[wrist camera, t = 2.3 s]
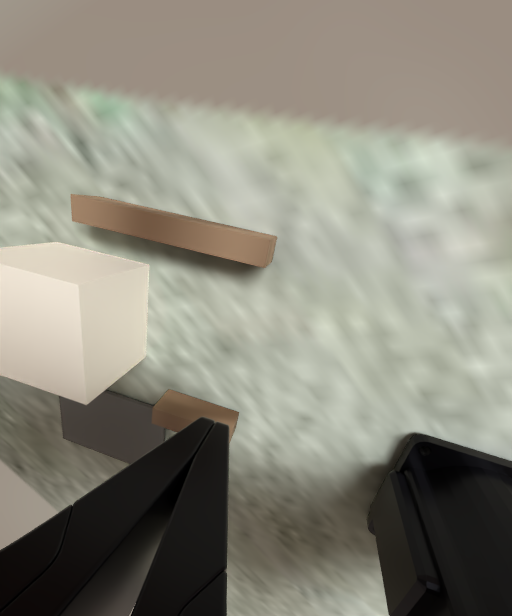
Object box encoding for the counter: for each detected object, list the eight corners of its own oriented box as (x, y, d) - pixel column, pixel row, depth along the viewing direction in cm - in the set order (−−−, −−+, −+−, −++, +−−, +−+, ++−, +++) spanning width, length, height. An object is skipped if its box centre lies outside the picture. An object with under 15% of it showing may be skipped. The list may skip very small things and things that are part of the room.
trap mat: (166, 410, 15) (165, 413, 15) (161, 472, 17) (159, 475, 16) (60, 374, 16) (57, 376, 16) (66, 436, 18) (63, 438, 18)
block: (150, 263, 12) (78, 284, 9) (147, 355, 14) (86, 405, 10) (59, 241, 13) (-44, 251, 9) (67, 331, 15) (-16, 369, 11)
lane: (277, 236, 10) (265, 242, 8) (236, 426, 14) (219, 468, 12) (-78, 157, 13) (-163, 144, 11) (-36, 335, 17) (-92, 354, 14)
